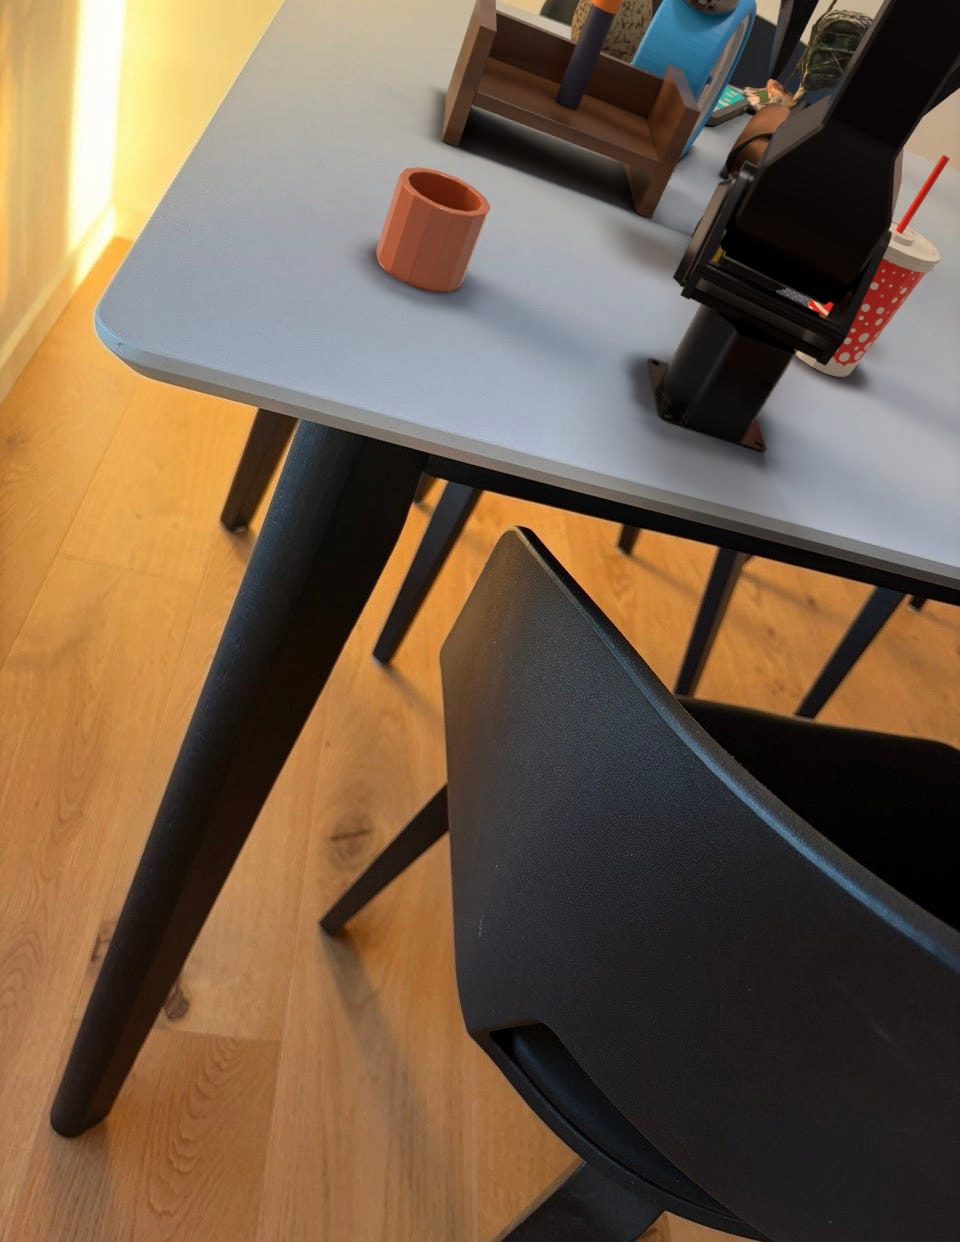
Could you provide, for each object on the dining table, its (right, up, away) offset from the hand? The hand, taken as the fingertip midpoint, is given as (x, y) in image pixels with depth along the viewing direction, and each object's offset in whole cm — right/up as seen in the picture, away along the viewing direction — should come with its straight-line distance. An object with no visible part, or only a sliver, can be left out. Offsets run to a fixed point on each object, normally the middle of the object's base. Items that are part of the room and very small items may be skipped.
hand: (835, 104), depth 70 cm
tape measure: (-5, -8, +10) cm, 13 cm away
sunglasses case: (+4, +9, +33) cm, 34 cm away
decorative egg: (-12, +20, +36) cm, 43 cm away
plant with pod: (+10, +21, +49) cm, 54 cm away
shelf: (-18, +3, +14) cm, 23 cm away
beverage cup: (0, -15, +4) cm, 16 cm away
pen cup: (-26, -13, -8) cm, 30 cm away
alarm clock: (-8, +8, +25) cm, 28 cm away
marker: (-16, +5, +11) cm, 20 cm away
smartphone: (-1, +20, +42) cm, 47 cm away
